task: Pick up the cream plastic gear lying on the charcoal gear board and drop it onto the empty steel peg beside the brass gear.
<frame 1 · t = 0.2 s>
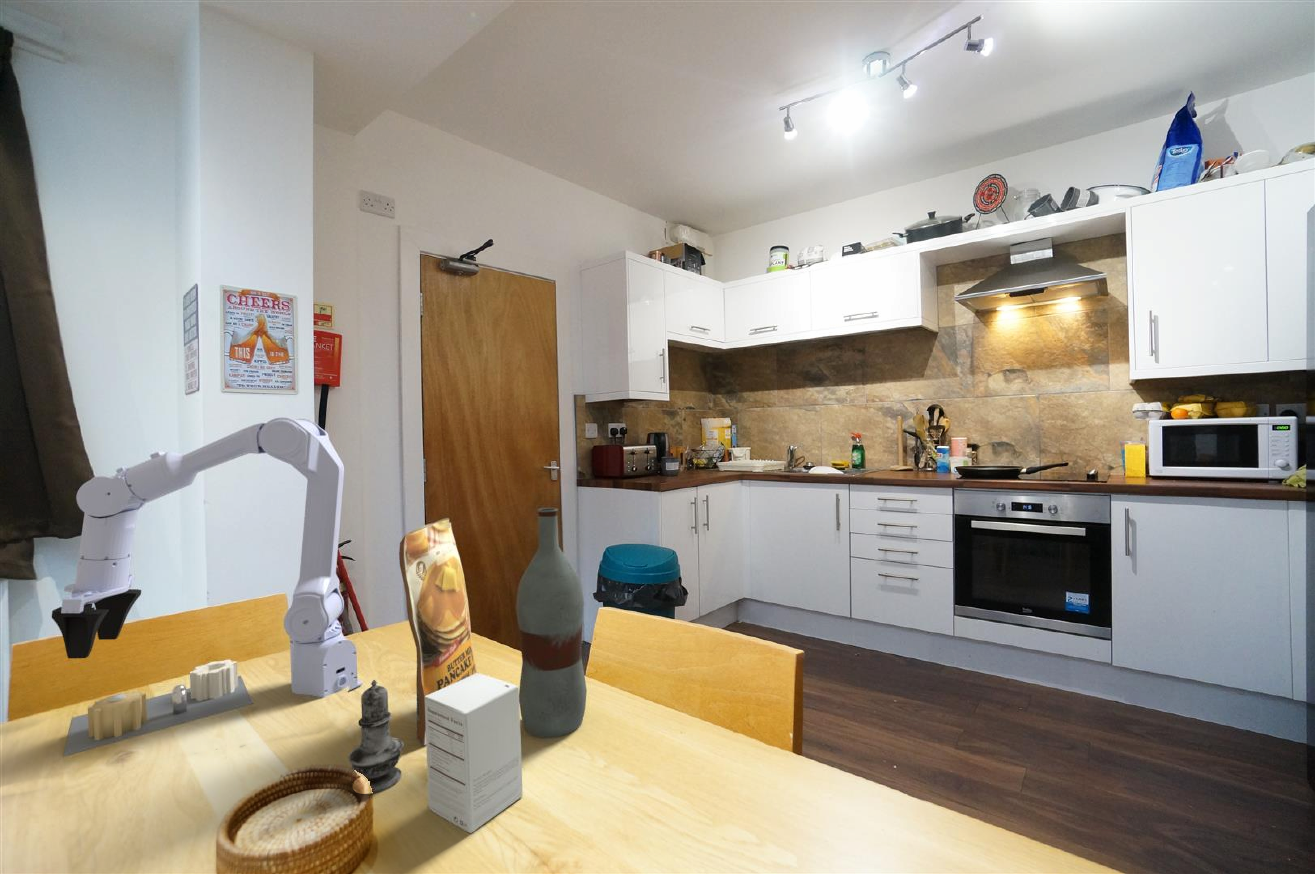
hand: (93, 647, 86), 11 cm above the table, tool pointing down, fingers open, 7 cm apart
bottle: (553, 724, 81), on the table
supplement box: (476, 805, 64), on the table
dark grey tall piece: (377, 782, 68), on the table
gear: (214, 692, 91), point 1 cm above the table, touching gear board
gear board: (164, 716, 86), on the table
steel peg: (180, 718, 85), resting on gear board
pancake mix bag: (445, 717, 84), on the table
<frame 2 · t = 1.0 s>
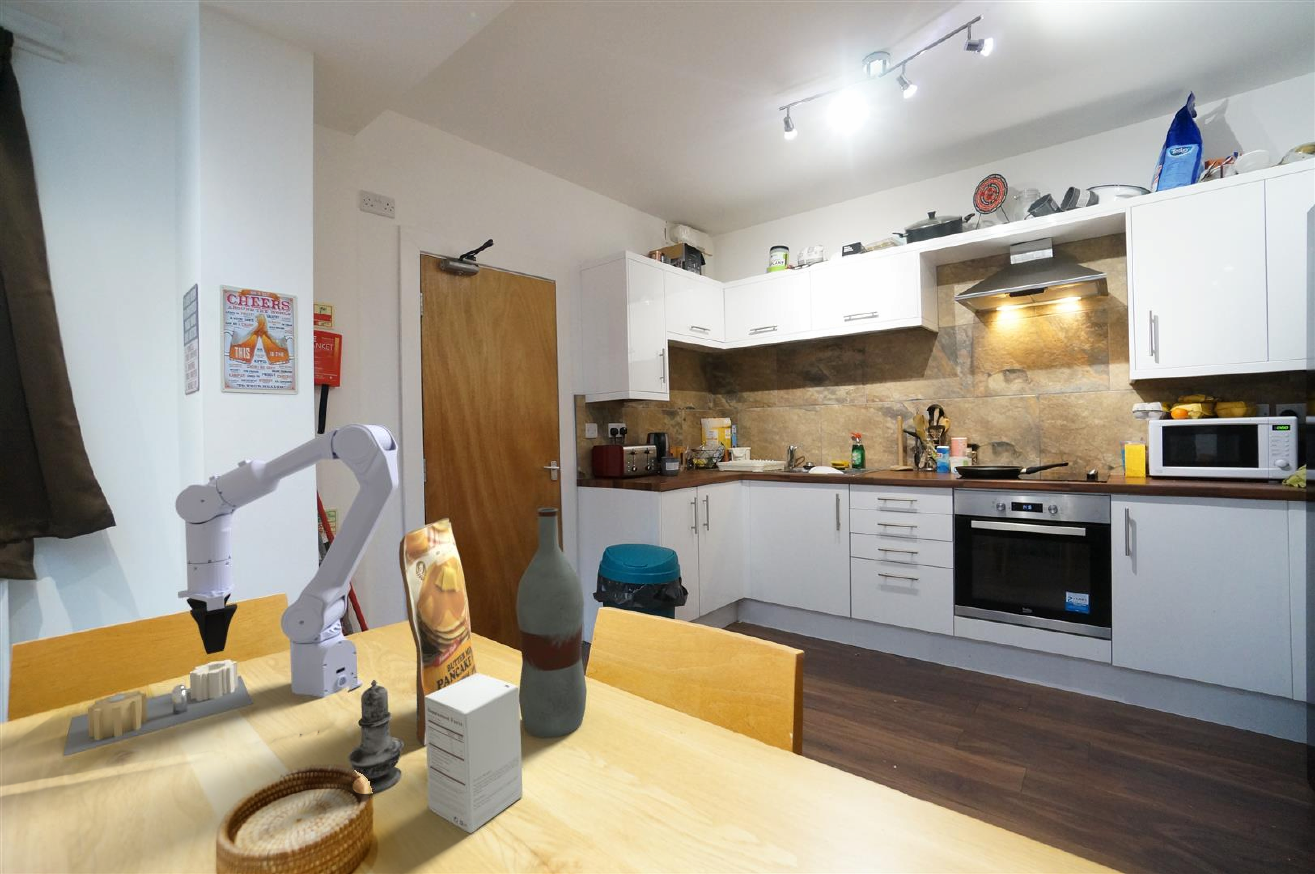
hand: (212, 645, 91), 8 cm above the table, tool pointing down, fingers open, 7 cm apart
nothing on the table moved.
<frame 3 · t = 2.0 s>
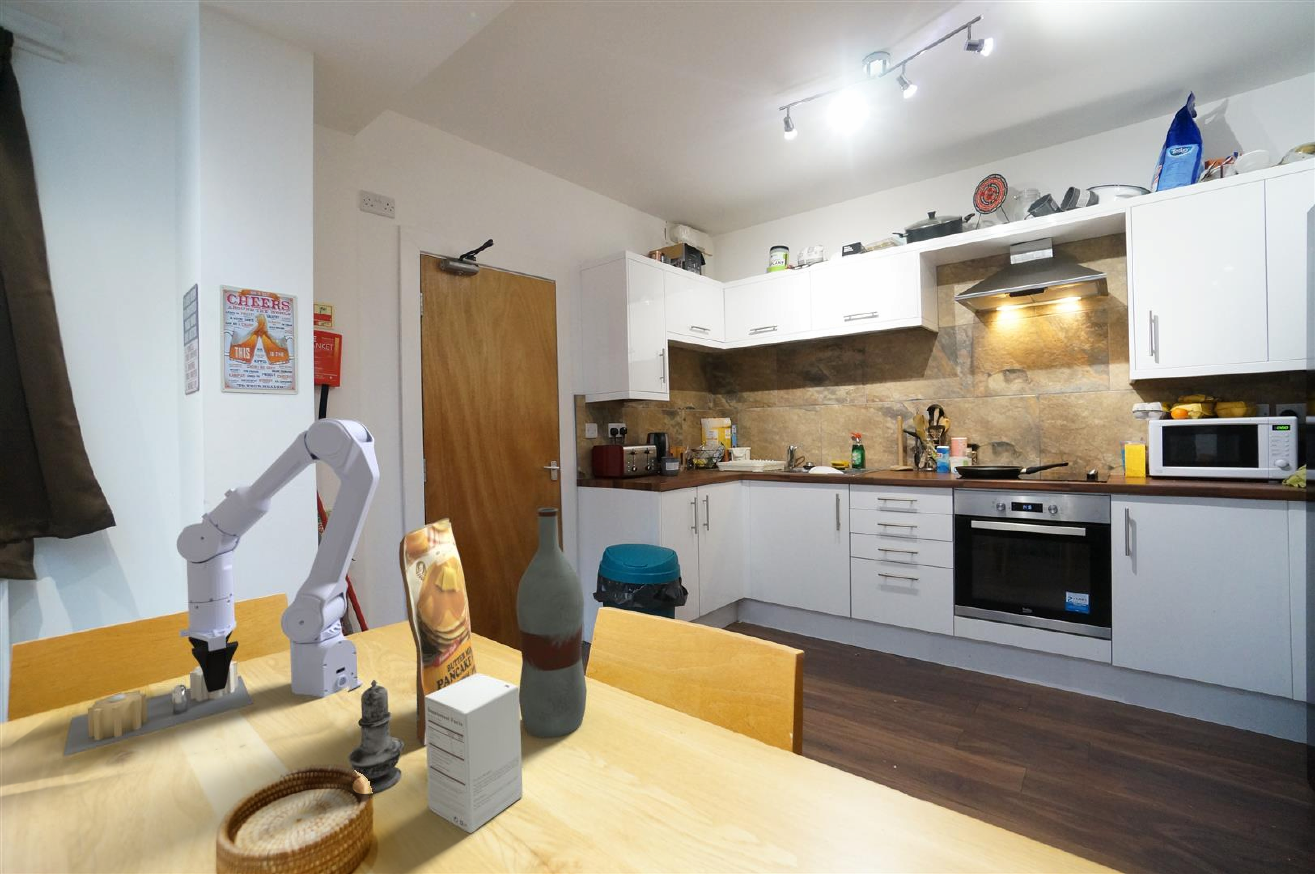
hand: (214, 683, 91), 2 cm above the table, tool pointing down, fingers closed on gear, 6 cm apart
gear: (214, 692, 91), point 1 cm above the table, touching gear board, gripper
everything else where it was.
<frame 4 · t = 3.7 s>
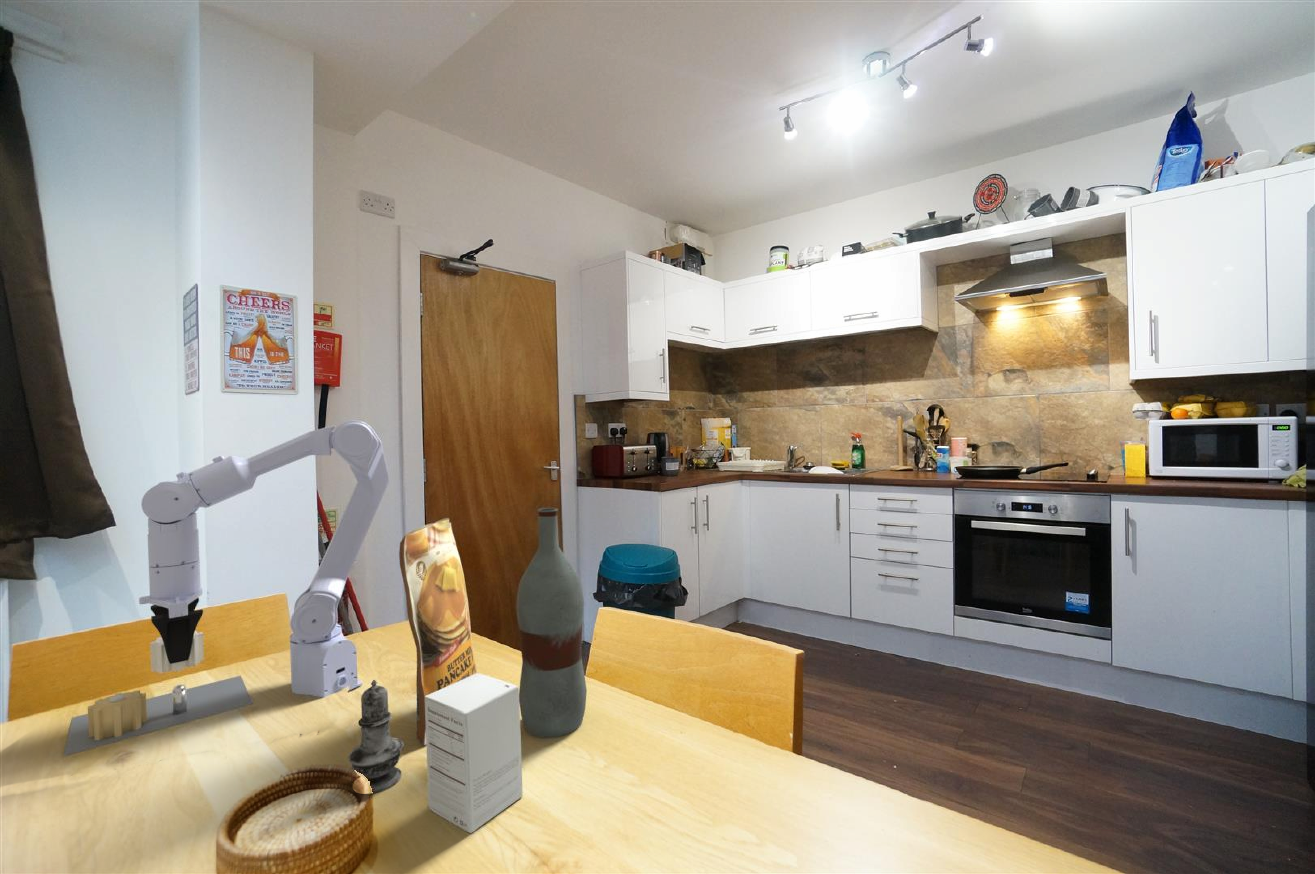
hand: (178, 655, 85), 9 cm above the table, tool pointing down, fingers closed on gear, 6 cm apart
gear: (178, 664, 85), point 8 cm above the table, touching gripper
everything else where it was.
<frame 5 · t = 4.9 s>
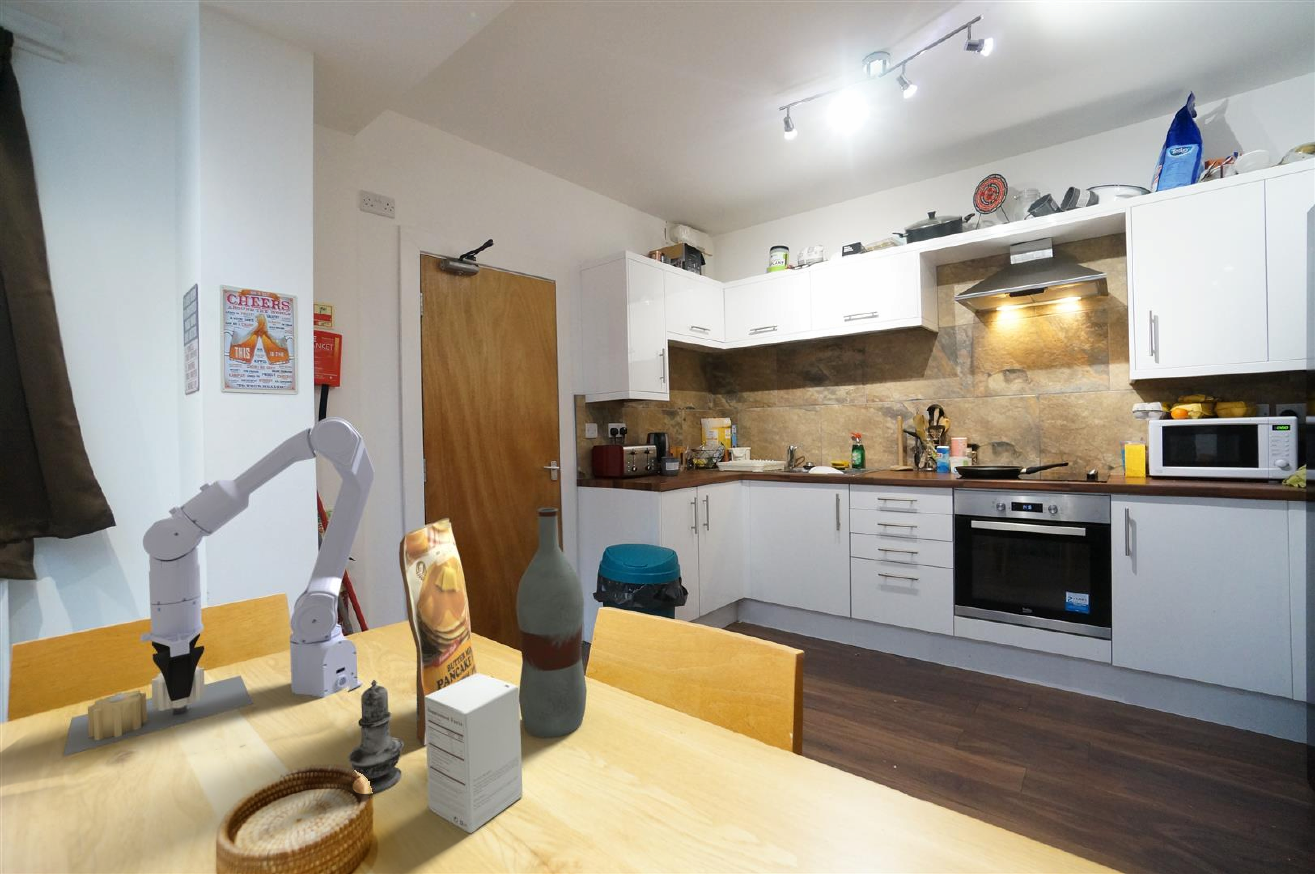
hand: (179, 691, 85), 4 cm above the table, tool pointing down, fingers closed on gear, 6 cm apart
gear: (179, 700, 85), point 3 cm above the table, touching gripper
everything else where it was.
when the fingers open (4 cm above the table, at t = 5.6 s): gear drops 1 cm, resting on gear board.
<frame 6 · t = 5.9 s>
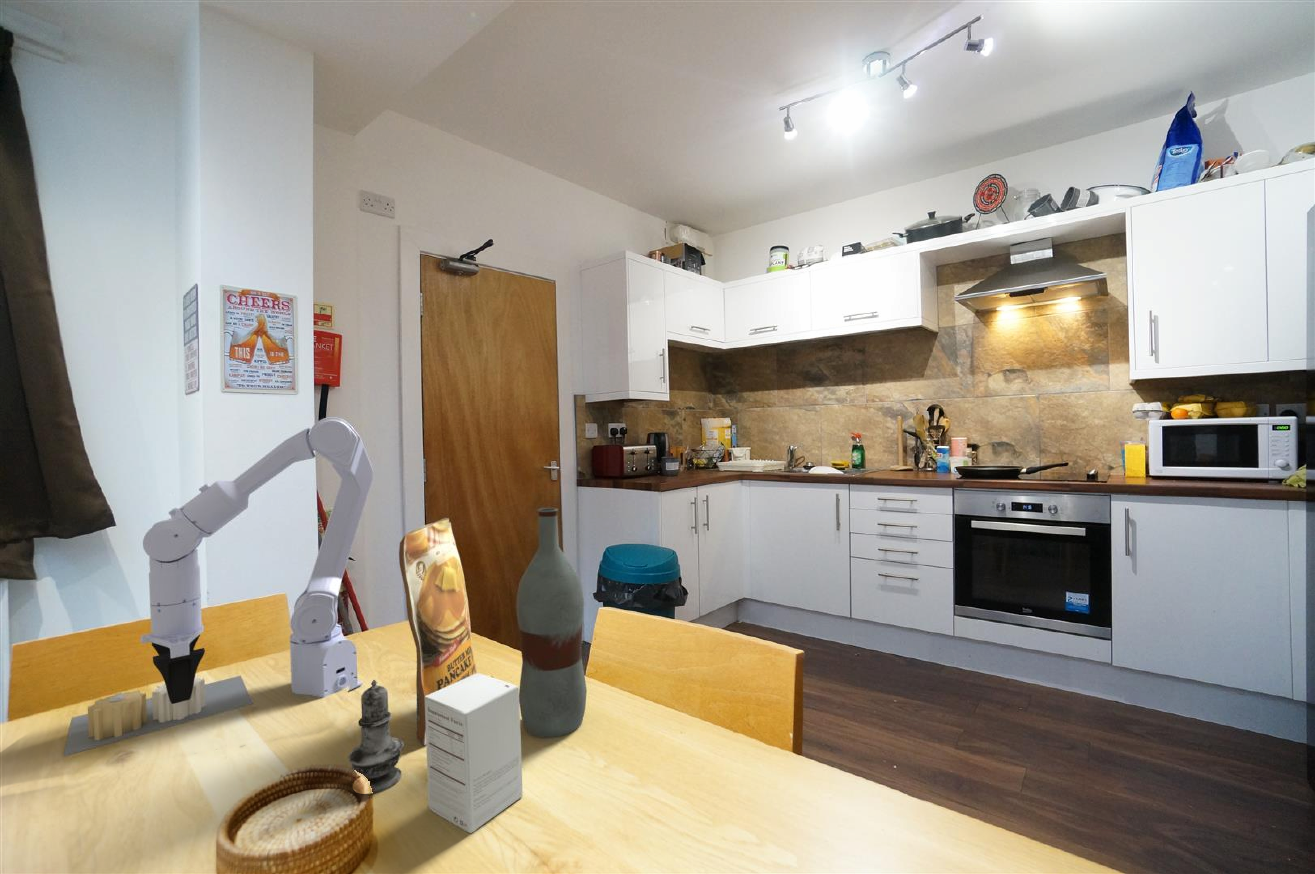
hand: (179, 692, 85), 4 cm above the table, tool pointing down, fingers open, 7 cm apart
gear: (179, 712, 85), point 1 cm above the table, touching gear board
everything else where it was.
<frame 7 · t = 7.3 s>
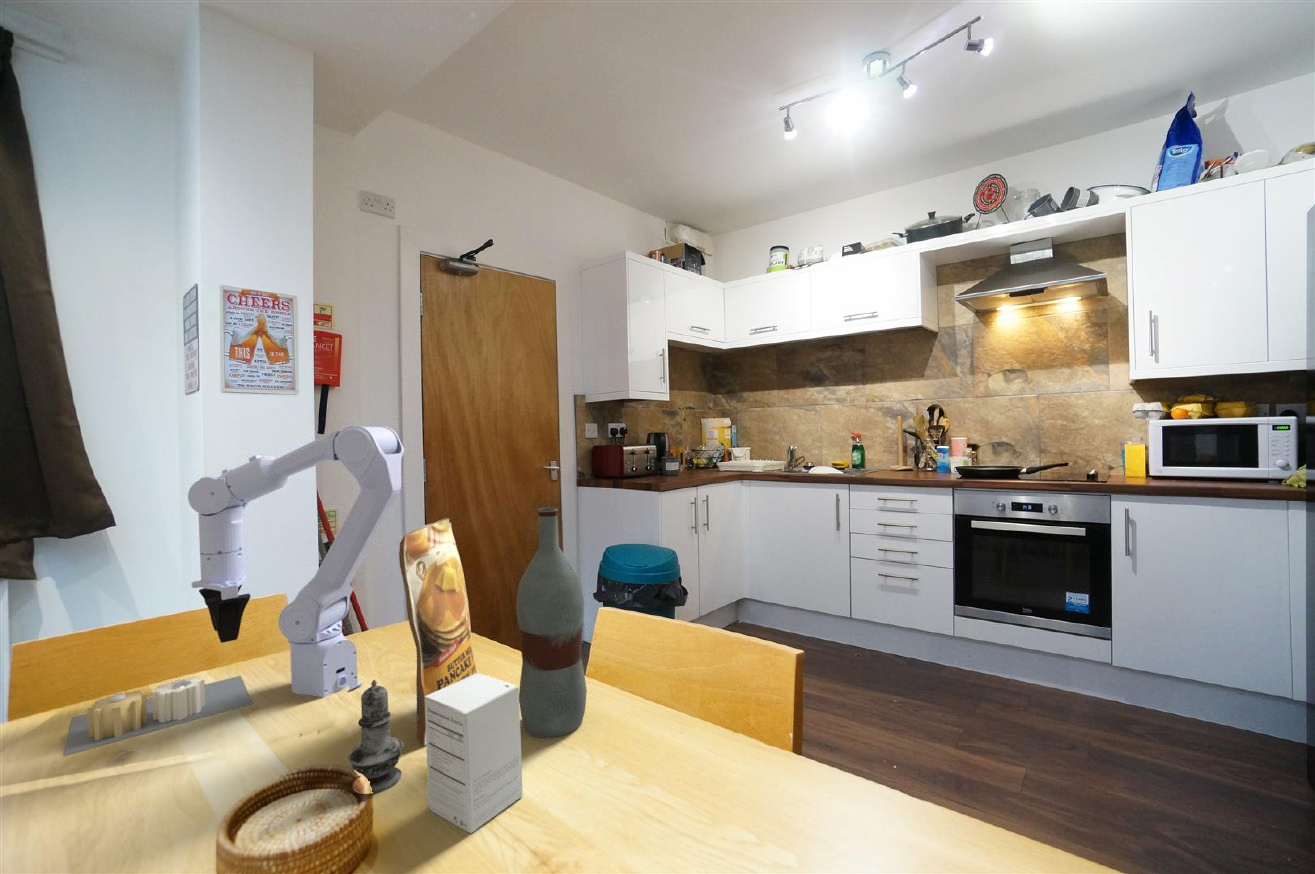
hand: (225, 634, 93), 9 cm above the table, tool pointing down, fingers open, 7 cm apart
nothing on the table moved.
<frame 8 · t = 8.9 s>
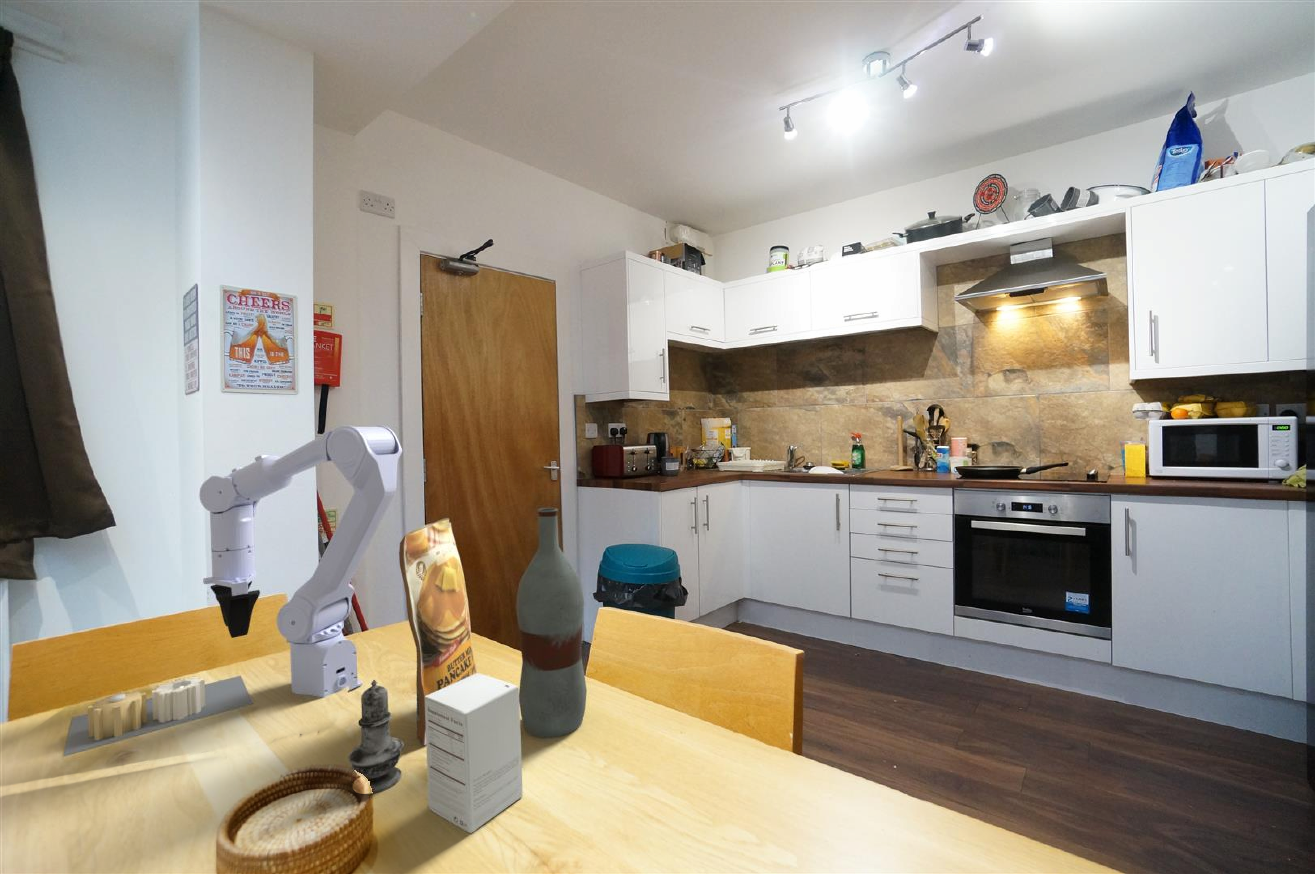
hand: (236, 630, 95), 9 cm above the table, tool pointing down, fingers open, 7 cm apart
nothing on the table moved.
at the end: gear 0.0 cm off-centre on the steel peg, point 1.0 cm above the steel peg's base; gear tilted 0°; the gripper is holding nothing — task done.
